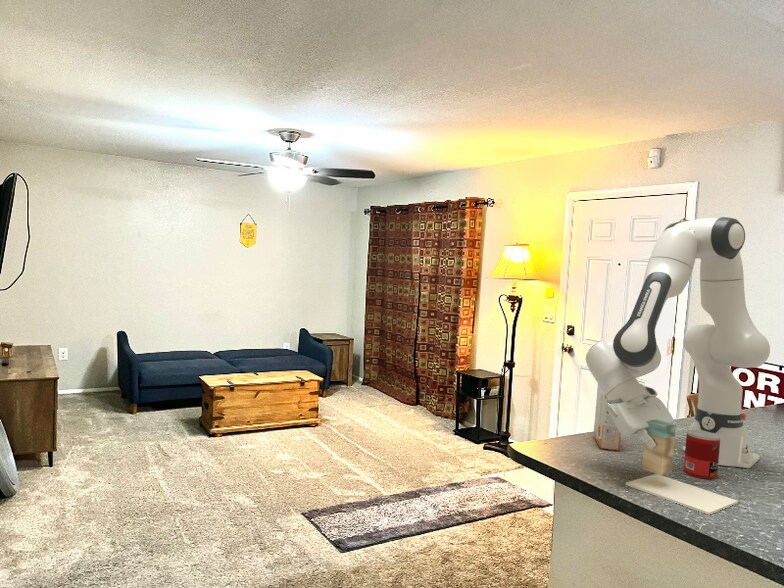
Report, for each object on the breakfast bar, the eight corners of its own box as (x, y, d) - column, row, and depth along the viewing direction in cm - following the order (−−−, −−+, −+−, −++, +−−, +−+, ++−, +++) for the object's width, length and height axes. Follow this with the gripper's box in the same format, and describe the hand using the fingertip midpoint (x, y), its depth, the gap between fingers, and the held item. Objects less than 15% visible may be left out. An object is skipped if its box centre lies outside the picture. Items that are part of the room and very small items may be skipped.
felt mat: (656, 476, 152) (656, 473, 152) (737, 503, 135) (738, 500, 135) (625, 484, 143) (625, 482, 143) (709, 515, 127) (709, 512, 127)
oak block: (652, 465, 148) (656, 419, 147) (671, 472, 144) (676, 424, 143) (641, 468, 145) (645, 421, 144) (660, 475, 141) (665, 426, 140)
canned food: (716, 482, 150) (719, 439, 149) (682, 474, 154) (685, 433, 154) (717, 474, 156) (721, 433, 156) (684, 467, 161) (688, 428, 160)
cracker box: (620, 451, 172) (626, 381, 171) (599, 449, 173) (604, 379, 172) (612, 439, 185) (617, 374, 185) (592, 436, 187) (597, 372, 186)
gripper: (613, 394, 143) (647, 444, 135) (658, 388, 155) (691, 434, 147) (596, 407, 147) (628, 457, 139) (641, 401, 159) (672, 447, 151)
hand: (661, 445), depth 143 cm, fingers closed on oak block, 5 cm apart
